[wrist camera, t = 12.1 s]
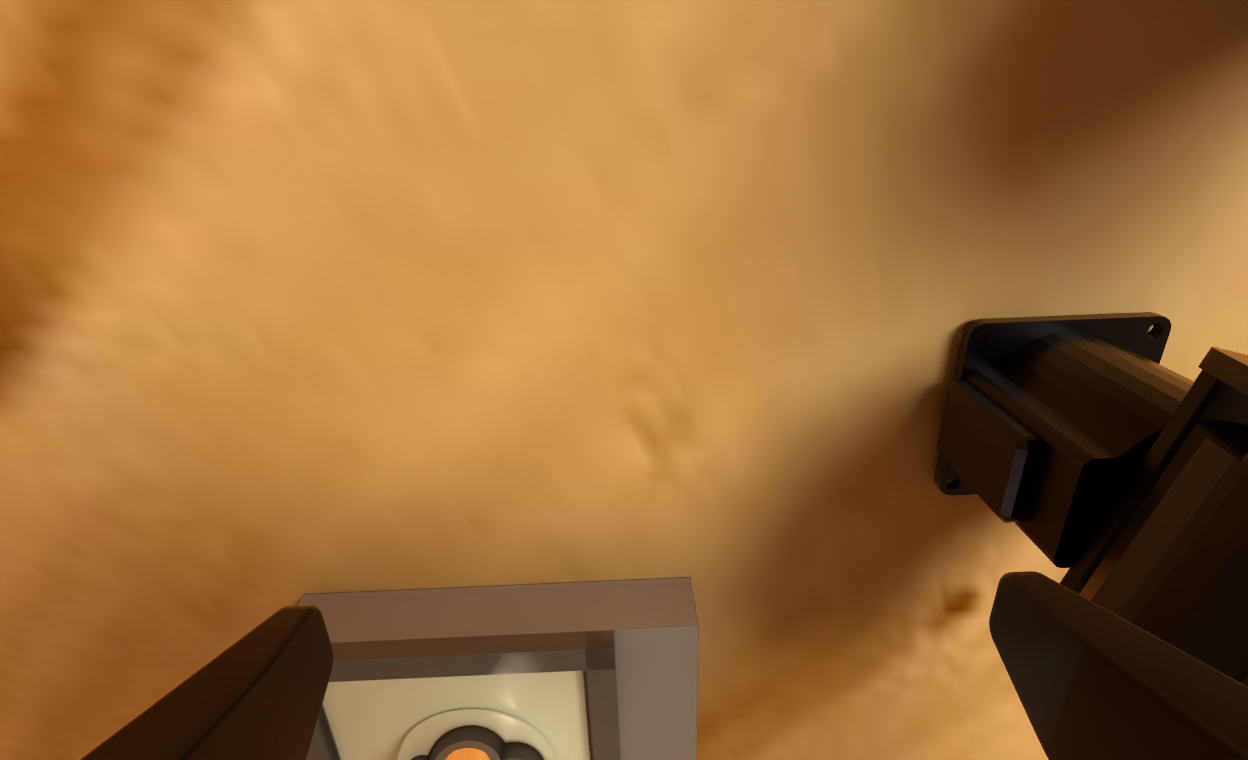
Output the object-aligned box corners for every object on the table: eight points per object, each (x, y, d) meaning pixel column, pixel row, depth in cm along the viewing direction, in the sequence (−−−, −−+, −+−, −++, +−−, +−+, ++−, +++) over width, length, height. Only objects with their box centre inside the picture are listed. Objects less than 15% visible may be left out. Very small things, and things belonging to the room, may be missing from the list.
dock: (690, 577, 25) (701, 644, 22) (688, 764, 29) (697, 841, 26) (303, 594, 25) (261, 663, 22) (361, 779, 29) (333, 858, 26)
